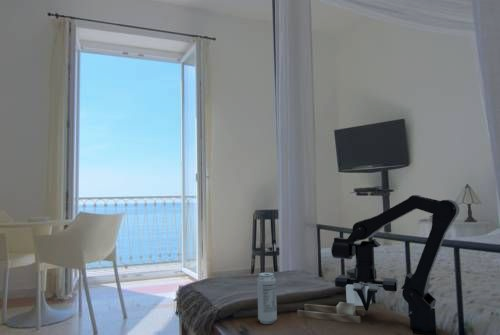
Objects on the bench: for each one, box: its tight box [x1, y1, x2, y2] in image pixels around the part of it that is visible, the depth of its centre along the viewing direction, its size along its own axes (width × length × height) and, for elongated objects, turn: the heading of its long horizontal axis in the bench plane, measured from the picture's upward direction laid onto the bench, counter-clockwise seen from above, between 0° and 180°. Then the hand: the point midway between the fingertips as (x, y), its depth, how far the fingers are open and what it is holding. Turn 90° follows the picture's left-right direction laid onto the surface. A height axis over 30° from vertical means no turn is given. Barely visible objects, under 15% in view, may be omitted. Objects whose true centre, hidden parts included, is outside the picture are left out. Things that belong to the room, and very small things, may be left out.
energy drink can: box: [256, 272, 278, 325], centre depth 124 cm, size 6×6×15 cm
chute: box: [296, 303, 365, 324], centre depth 126 cm, size 20×9×2 cm, turn 65°
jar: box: [345, 268, 372, 307], centre depth 141 cm, size 9×8×12 cm
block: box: [336, 301, 357, 316], centre depth 124 cm, size 5×5×4 cm
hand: (367, 310), depth 122 cm, fingers closed
